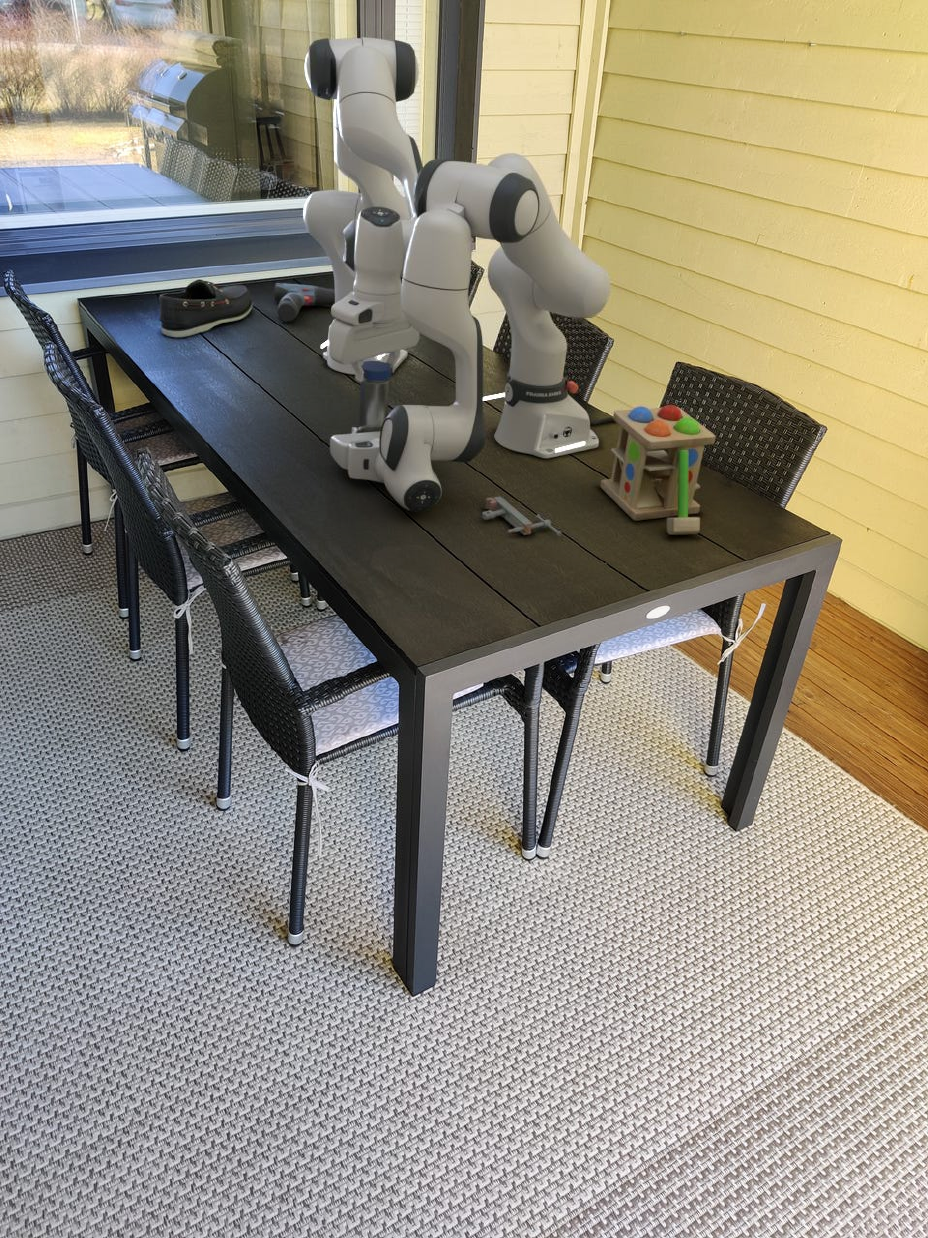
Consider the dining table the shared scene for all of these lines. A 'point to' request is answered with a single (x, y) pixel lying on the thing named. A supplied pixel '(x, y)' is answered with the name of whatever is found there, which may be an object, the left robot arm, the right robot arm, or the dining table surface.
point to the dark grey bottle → (373, 405)
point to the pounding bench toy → (658, 466)
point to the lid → (377, 370)
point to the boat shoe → (202, 307)
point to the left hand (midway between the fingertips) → (374, 376)
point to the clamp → (513, 516)
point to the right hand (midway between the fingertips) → (371, 429)
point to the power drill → (300, 298)
